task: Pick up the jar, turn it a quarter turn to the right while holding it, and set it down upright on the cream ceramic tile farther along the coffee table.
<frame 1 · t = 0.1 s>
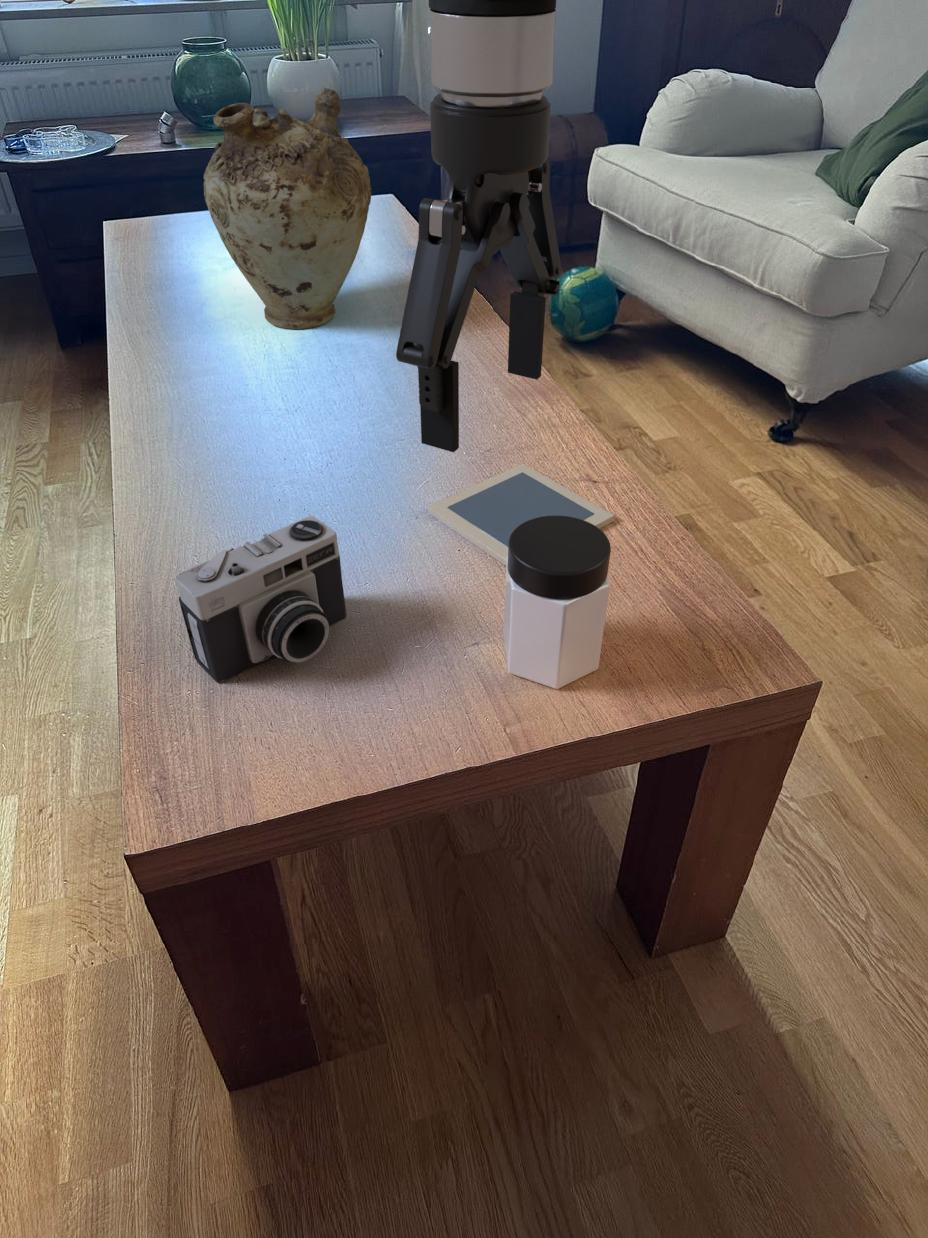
hand: (484, 408, 68), 21 cm above the table, tool pointing down, fingers open, 13 cm apart
camera: (281, 650, 78), on the table
tile: (520, 517, 94), on the table
vase: (303, 317, 136), on the table
jar: (549, 656, 78), on the table
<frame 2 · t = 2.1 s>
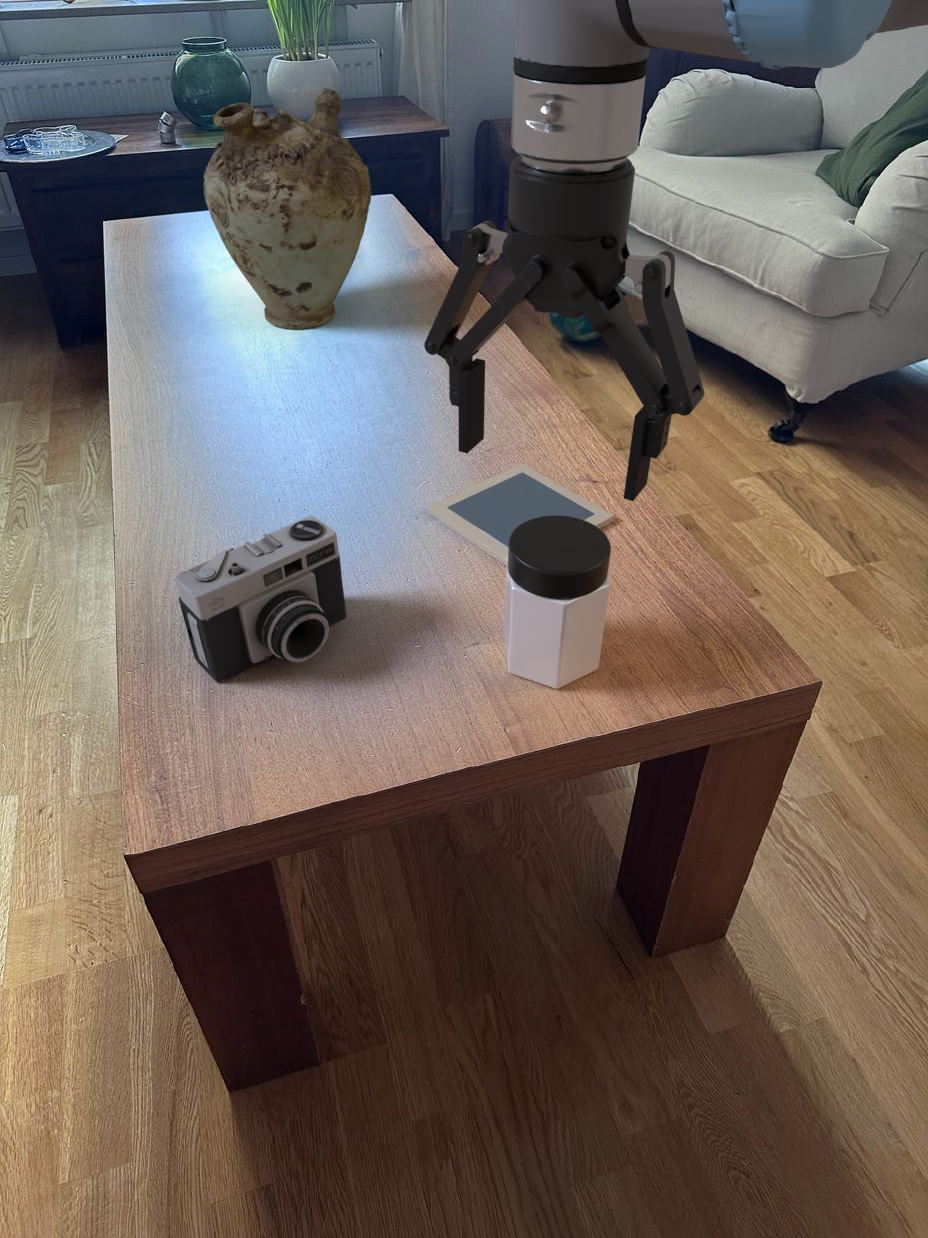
hand: (550, 467, 66), 18 cm above the table, tool pointing down, fingers open, 13 cm apart
nothing on the table moved.
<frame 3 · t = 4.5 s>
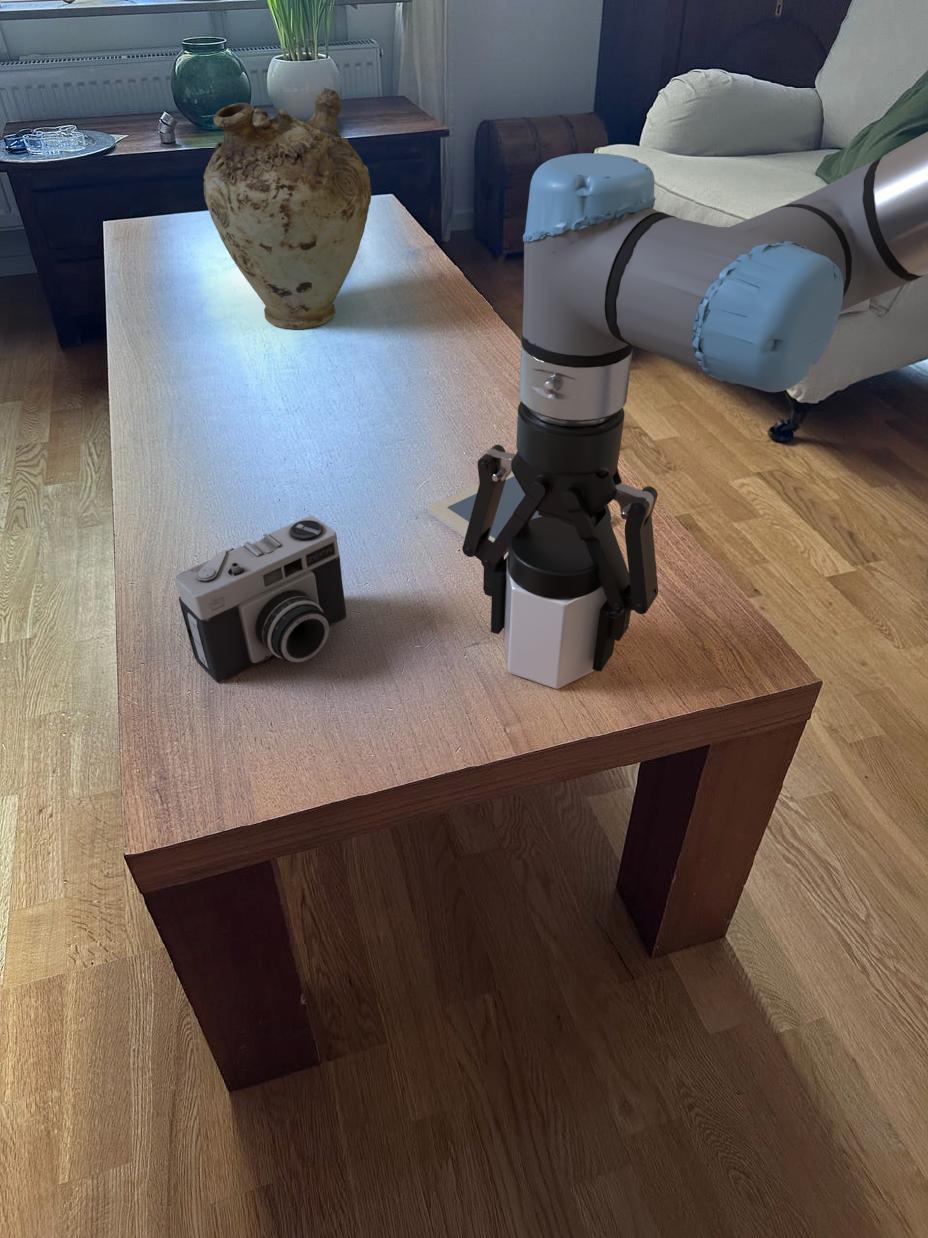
hand: (550, 642, 76), 1 cm above the table, tool pointing down, fingers closed on jar, 9 cm apart
jar: (549, 656, 78), on the table, touching gripper
everything else where it was.
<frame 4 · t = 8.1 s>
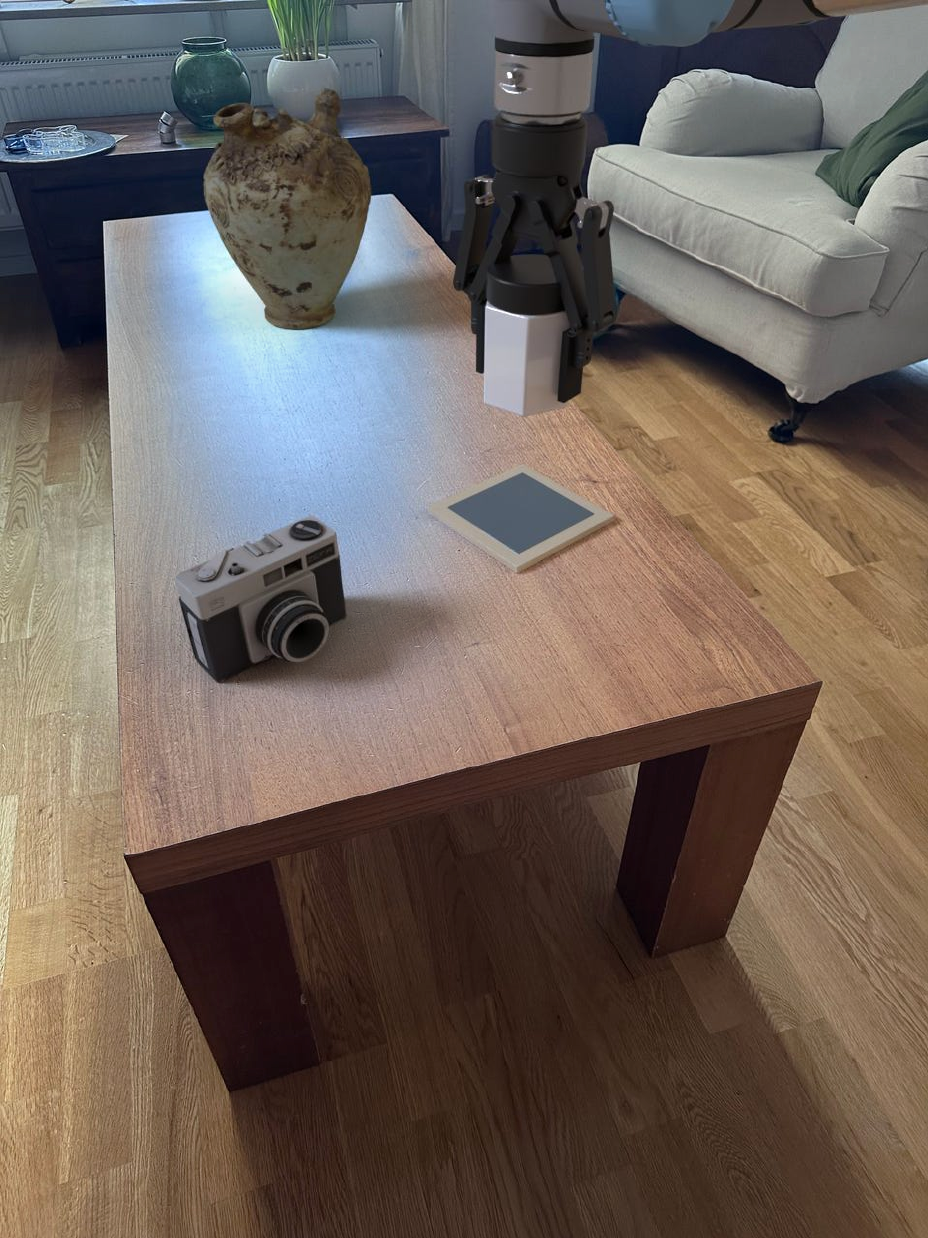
hand: (527, 382, 84), 15 cm above the table, tool pointing down, fingers closed on jar, 9 cm apart
jar: (526, 398, 85), point 14 cm above the table, touching gripper
everything else where it was.
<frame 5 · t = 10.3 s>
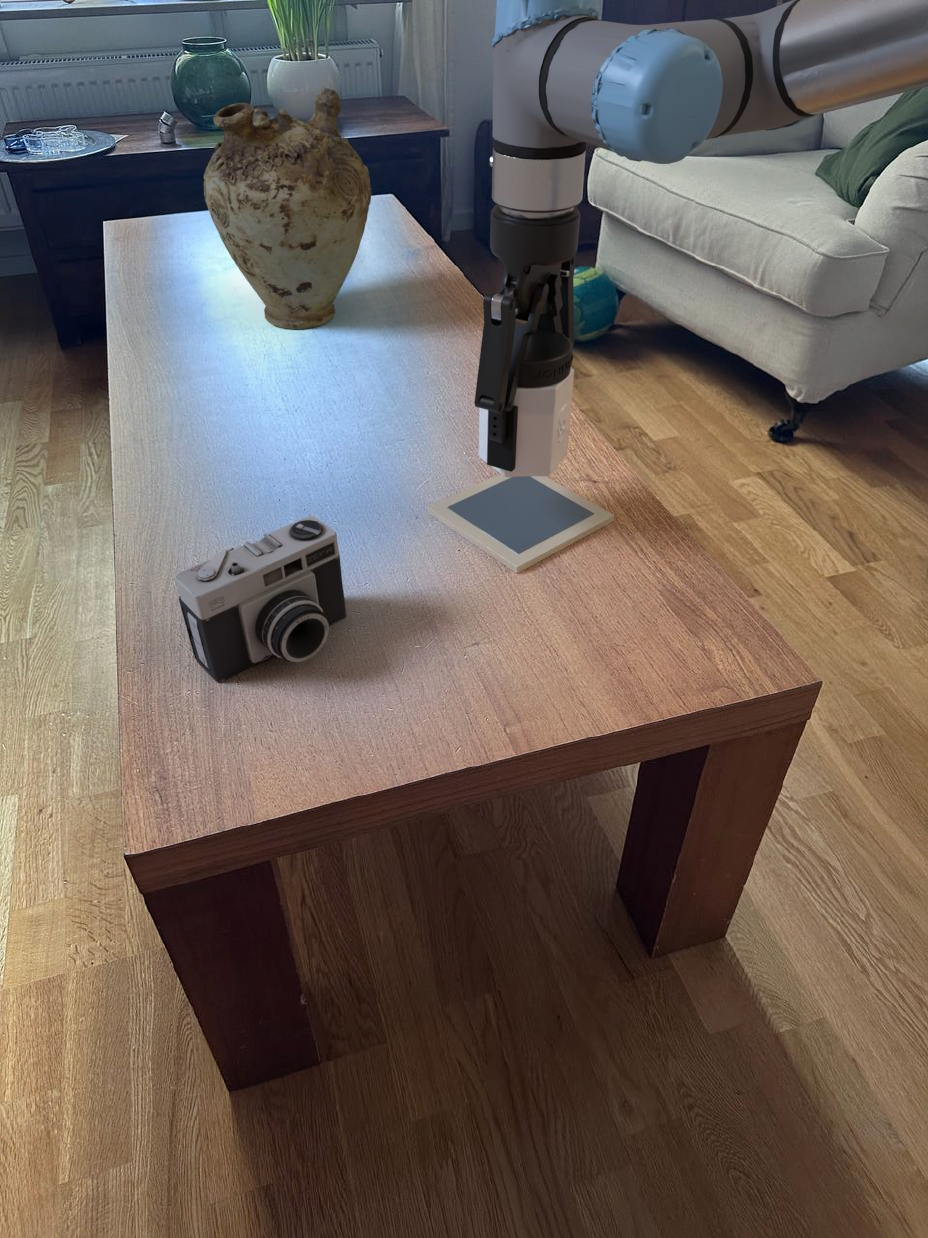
hand: (523, 444, 88), 9 cm above the table, tool pointing down, fingers closed on jar, 9 cm apart
jar: (522, 458, 89), point 7 cm above the table, touching gripper
everything else where it was.
when the fingers open (2 cm above the table, at t = 12.2 s): jar stays where it is, resting on tile.
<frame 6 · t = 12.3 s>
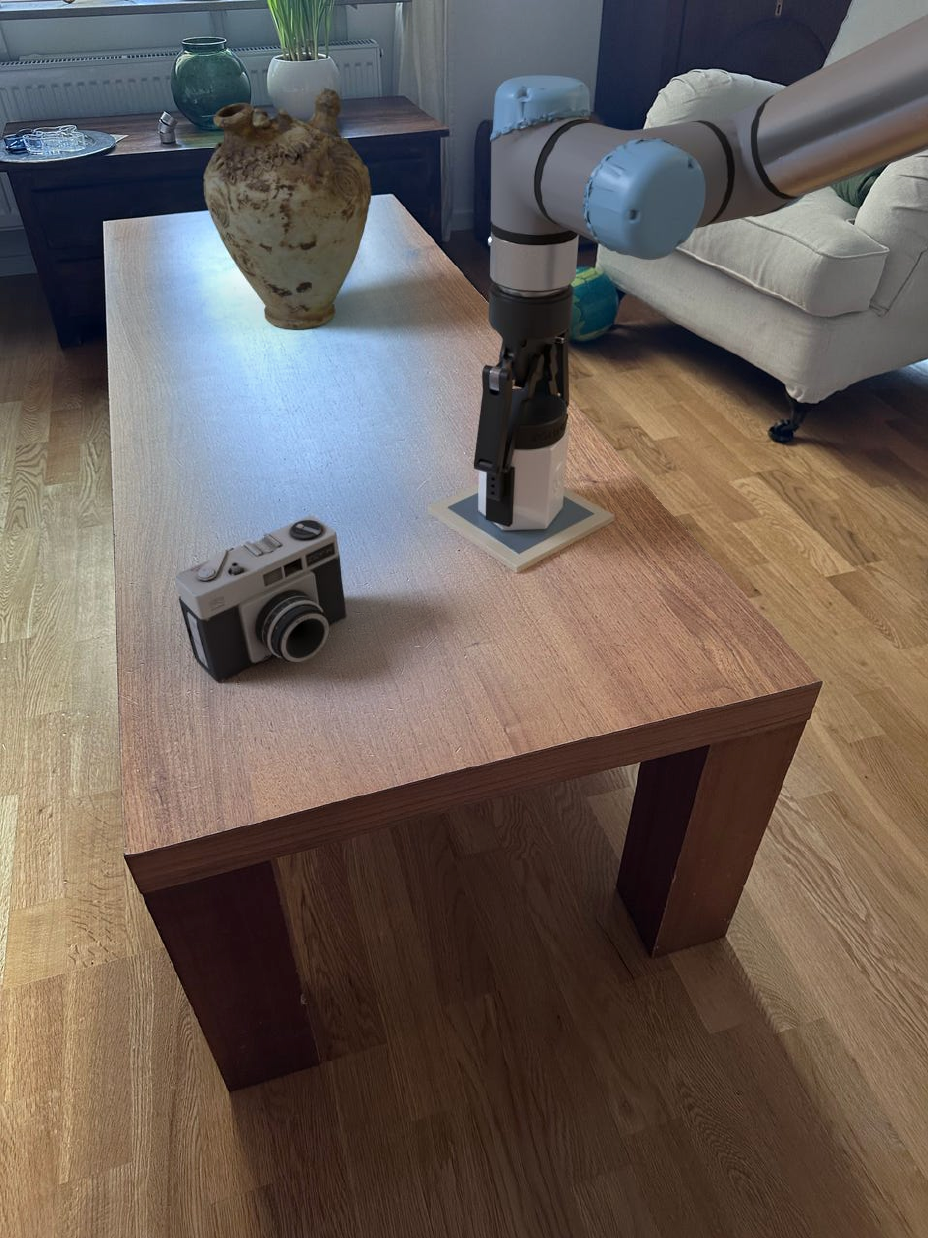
hand: (520, 498, 92), 2 cm above the table, tool pointing down, fingers open, 9 cm apart
jar: (520, 511, 93), point 1 cm above the table, touching tile
everything else where it was.
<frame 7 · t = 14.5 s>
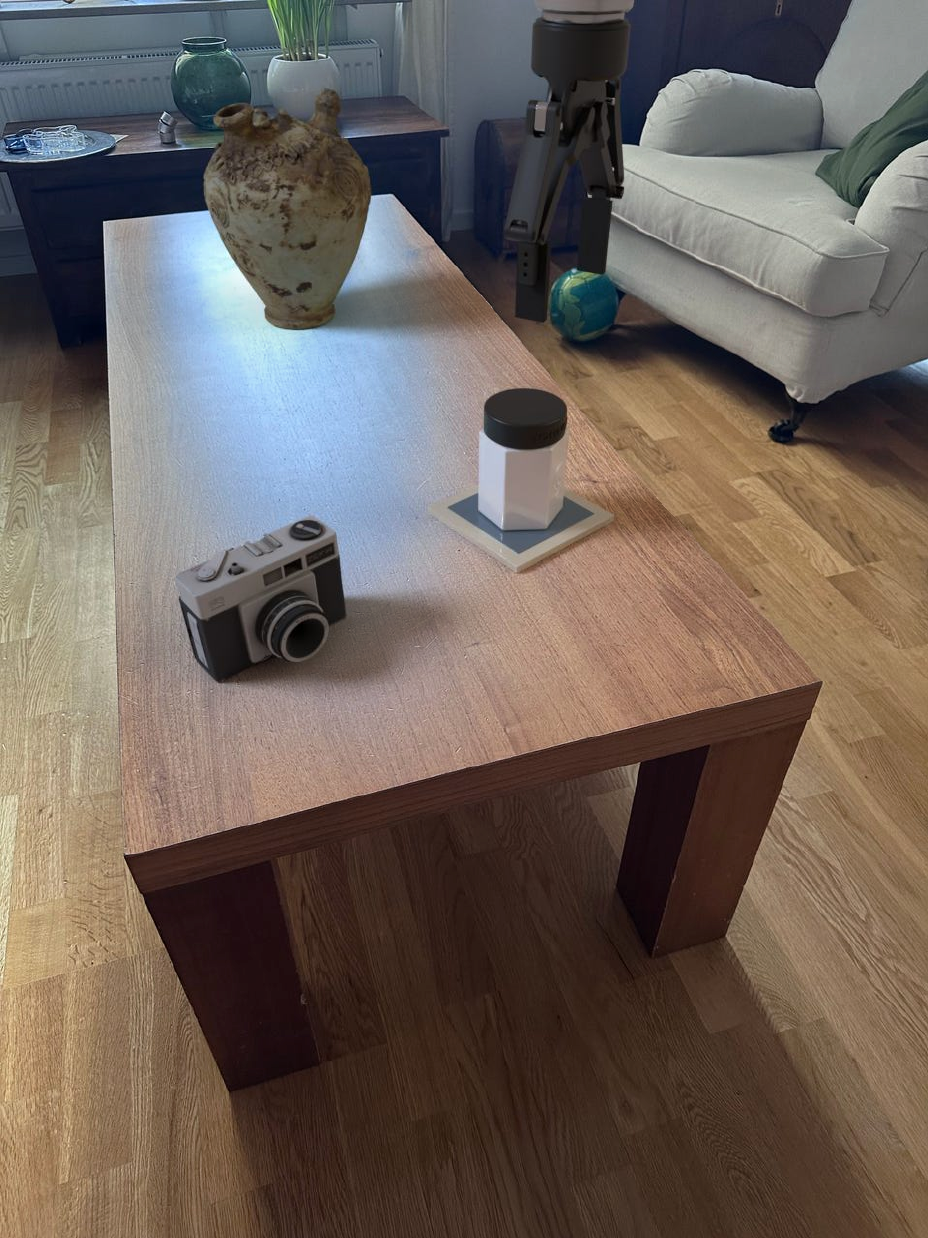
hand: (562, 294, 81), 23 cm above the table, tool pointing down, fingers open, 13 cm apart
nothing on the table moved.
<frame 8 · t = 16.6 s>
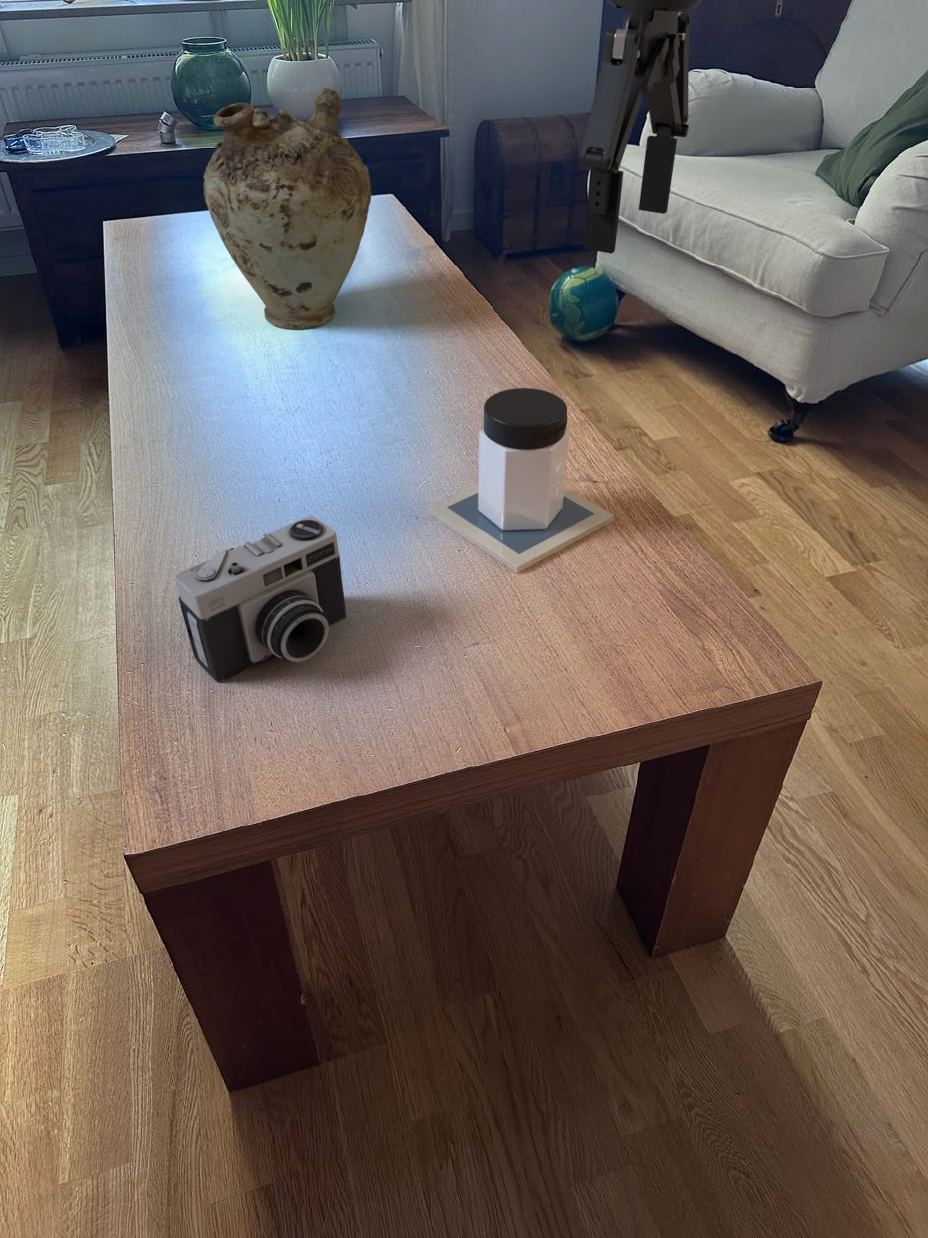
hand: (627, 229, 83), 27 cm above the table, tool pointing down, fingers open, 13 cm apart
nothing on the table moved.
at the end: jar inside the target area on the tile (0.0 cm from its centre), point 0.7 cm above the tile's base; jar tilted 0°; the gripper is holding nothing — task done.
